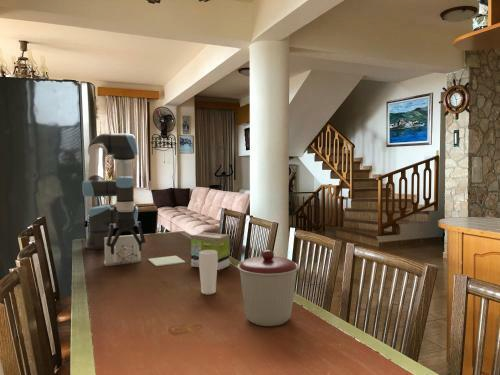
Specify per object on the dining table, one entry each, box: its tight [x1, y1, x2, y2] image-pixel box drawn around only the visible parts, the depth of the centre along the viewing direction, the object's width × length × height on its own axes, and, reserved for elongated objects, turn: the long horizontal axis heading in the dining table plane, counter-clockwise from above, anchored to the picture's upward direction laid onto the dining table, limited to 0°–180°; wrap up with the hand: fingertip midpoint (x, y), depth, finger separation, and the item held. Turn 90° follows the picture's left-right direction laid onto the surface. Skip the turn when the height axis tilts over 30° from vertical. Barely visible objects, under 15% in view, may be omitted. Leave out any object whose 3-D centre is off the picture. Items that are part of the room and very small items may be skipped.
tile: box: [147, 255, 186, 267], centre depth 190 cm, size 14×14×1 cm
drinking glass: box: [198, 250, 218, 295], centre depth 143 cm, size 7×7×15 cm
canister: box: [237, 249, 299, 327], centre depth 117 cm, size 18×18×21 cm
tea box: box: [190, 231, 230, 271], centre depth 180 cm, size 15×10×15 cm
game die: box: [116, 245, 137, 265], centre depth 179 cm, size 9×8×10 cm
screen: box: [103, 233, 142, 267], centre depth 187 cm, size 6×16×13 cm, turn 118°
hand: (126, 259), depth 179 cm, fingers closed on game die, 9 cm apart
